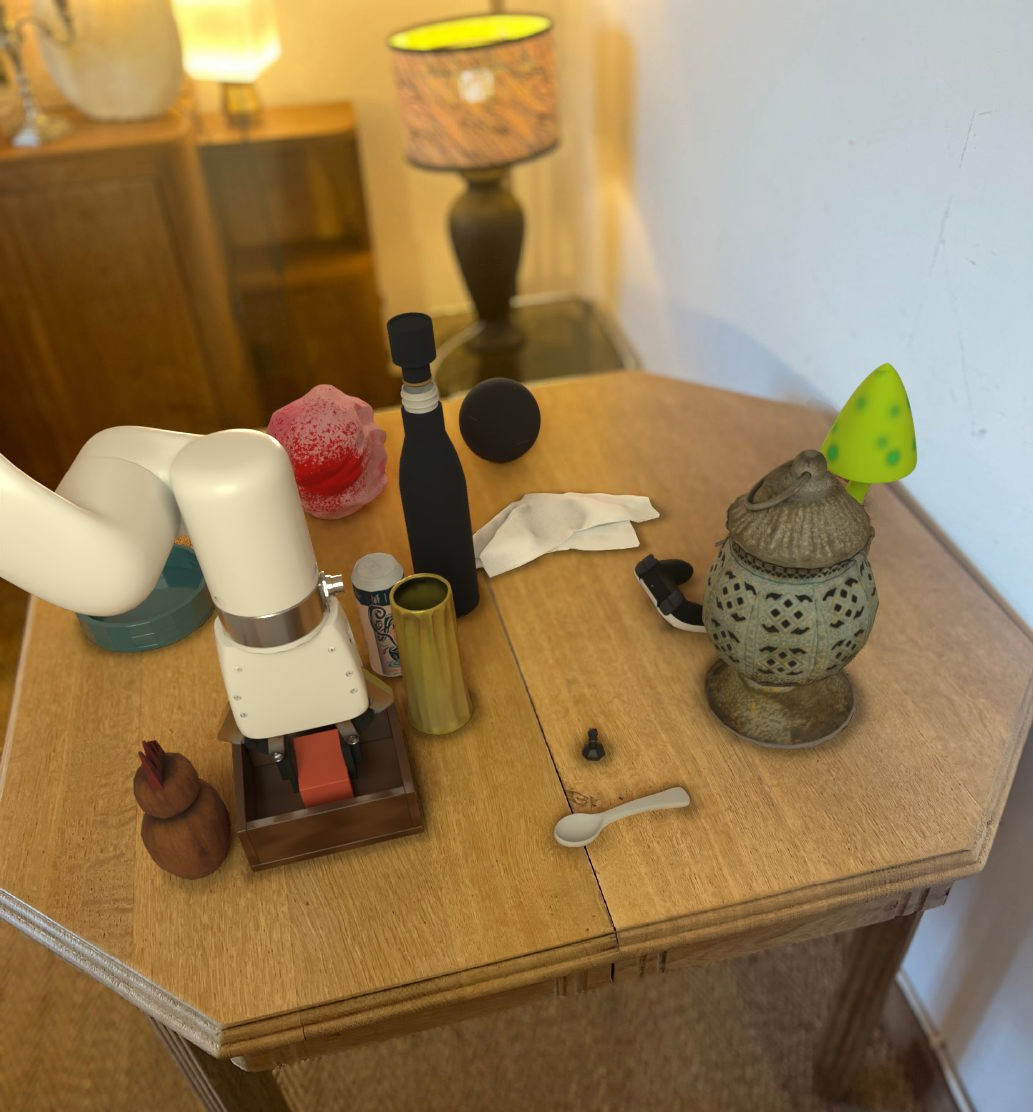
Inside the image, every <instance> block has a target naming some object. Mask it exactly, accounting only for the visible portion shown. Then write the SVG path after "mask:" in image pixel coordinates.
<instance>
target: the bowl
mask: <svg viewBox="0 0 1033 1112" xmlns="http://www.w3.org/2000/svg"><path fill="white" fill-rule="evenodd" d="M215 610H216V608H215V605H214V603H213V600H212V597H211V594H210V592H209V589H208V586H207V583H206V581H205V578H204V575H203V573H202V570H201V567H200V565H199V562H198V559H197V557H196V554H195V551H194V548H193V547H191V546H189V545H185V544H181V543H177V542H174V545H173V547H172V549H171V552H170V554H169V556H168V559H167V561H166V564H165V566H164V568H163V571H162V573H161V575H160V577H159V579H158V582H157V584H156V585H155V587H154V589H153V591H152V592H151V593H150V595H149V596H148V597H147V598H146V599H145V600H144V601H143V602H142V603H141V604H139V605H138V606H137V607H136V608H134V609H131V610H129V611H127V612H125V613H123V614H118V615H113V616H91V615H86V614H81V613H76V612H74V614H75V616H76V618H77V620H78V622H79V625H80V626H81V628H82V630H83V633H84V635H85V636H86V638H87V639H88V640H89V641H90V642H91V643H93V644H94V645H96V646H97V647H99V648H101V649H104V650H106V651H112V652H117V653H141V652H148V651H152V650H157V649H160V648H164V647H166V646H169V645H171V644H173V643H177V642H179V641H180V640H182V639H184V638H186V637H187V636H189V635H191V634H193V633H194V632H195V631H197V630H198V629H199V628H200V627H201V626H202V625H203V624H205V623H206V621H208V619H210V617H211V615H212V614H213V613H214V611H215Z"/></svg>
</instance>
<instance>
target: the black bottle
mask: <svg viewBox="0 0 1033 1112" xmlns="http://www.w3.org/2000/svg"><path fill="white" fill-rule="evenodd" d="M386 330H387V337H388V343H389V348H390V354H391V355H390V356H391V361H392V363H393V364H394V365H395V366H397V367H400V369H401V374H402V375H401V376H402V377H401V380H402V381H401V382H402V383H403V384H402V385H401V391H400V397H401V398H402V399H401V404H402V405H401V406H400V413H401V419H402V426H403V432H404V435H403V440H402V441H403V442H402V445H401V451H400V456H399V463H398V464H399V465H398V488H399V489H398V490H399V494H400V499H401V506H402V511H403V512H402V513H403V518H404V523H405V528H406V536H407V541H408V548H409V553H410V557H411V563H412V569H413V570H412V571H413V575H415V574H421V573H430V574H436V575H439V576H441V577H443V578H444V579H446V580H447V581H448V582H449V584H450V586H451V589H452V594H453V601H454V607H455V614H456V619H459V618H462V617H464V616H465V617H466V616H467V615H469V614H470V613H472V612H473V611H474V610H475V609H476V607H478V605H479V602H480V598H481V597H480V589H479V588H480V587H479V580H478V578H479V577H478V571H477V569H476V561H475V553H474V544H473V535H474V534H473V528H472V520H471V519H472V518H471V511H470V510H471V509H470V502H469V493H468V486H467V479H466V475H465V471H464V467H463V464H462V462H461V459H460V456H459V454H458V451H457V449H456V447H455V445H454V443H453V441H452V439H451V437H450V435H449V434H448V432H447V430H446V425H445V423H446V422H445V416H444V415H445V414H444V407H443V403H442V401H441V400H440V397H439V394H438V393H439V389H438V387H437V385H436V382H435V381H434V380H433V373H432V370H431V364H432V363H433V362H434V361H435V360H436V358H437V357H438V356H437V348H436V340H435V333H434V332H435V331H434V325H433V320H432V317H431V316H430V315H428V314H426V313H423V312H417V311H412V312H411V311H410V312H403V313H399V314H396V315H395V316H392V317H391V318H390V319H389V320H387V322H386Z"/></svg>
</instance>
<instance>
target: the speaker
mask: <svg viewBox="0 0 1033 1112" xmlns="http://www.w3.org/2000/svg"><path fill="white" fill-rule="evenodd" d="M541 423H542V415H541V410H540V407H539V404H538V402H537V400H536V398H535V396H534V395H533V393H532V392H531V391H530V390H529V389H528V388H527V387H526V386H525V385H524V384H522V383H521V382H519V381H517V380H515V379H513V378H507V377H492V378H488V379H485V380H483V381H481V382H478V383H477V384H476V385H474V386H473V387H472V388H471V389H470V390H469V391H468V392H467V393H466V395H465V396H464V399H463V400H462V403H461V405H460V408H459V413H458V428H459V432H460V435H461V438H462V440H463V442H464V443H465V445H466V446H467V447H468V449H469V450H470V451H471V453H473V454H474V455H475V456H477V457H479V458H480V459H482V460H484V461H487V462H490V463H497V464H498V463H499V464H503V463H510V462H512V461H515V460H518V459H520V458H521V457H524V455H526V454H527V453H528V452H529V451H530V450H531V449H532V447H534V445H535V443H536V442H537V439H538V437H539V434H540V431H541V426H542V425H541Z"/></svg>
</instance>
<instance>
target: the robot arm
mask: <svg viewBox="0 0 1033 1112" xmlns="http://www.w3.org/2000/svg"><path fill="white" fill-rule="evenodd" d="M182 537H187V538H189V541H190V542H191V546H192V548H193V549H194V551H195V554H196V557H197V559H198V562H199V565H200V567H201V570H202V573H203V575H204V578H205V581H206V583H207V586H208V589H209V592H210V594H211V597H212V600H213V603H214V605H215V612H216V613H217V616H216V617H215V620H214V621H213V622H214V623H213V630H214V640H215V645H216V646H215V647H216V651H217V658H218V663H219V667H220V671H221V676H222V680H223V683H224V687H225V691H226V695H227V699H228V701H227V702H226V705H225V707H224V710H223V711H222V714H221V716H220V718H219V720H218V723H217V725H216V737H217V739H218V741H220V742H223V743H229V744H232V743H234V744H239V745H241V744H245V746H246V747H247V748H250V749H253V750H255V751H258V752H261V753H264V754H267V755H269V759H270V760H271V761H273V762H276V764H277V766H278V769H279V772H280V775H281V777H282V780H283V781H284V780H288V779H290V782H291V785H292V787H293V790H294V793H298V792H300V791H299V782H298V769H297V760H296V752H295V748H294V745H293V742H292V739H291V737H288V735H287V734H289V733H294V732H298V731H303V730H307V729H312V728H316V727H321V726H325V725H329V724H334V723H335V725H336V727H337V728H338V734H339V740H340V746H341V751H342V755H343V758H344V762H345V765H346V766H347V769H348V772H349V776H350V779H351V778H352V780H354V779H358V774H357V768H356V764H358V763H363V757H362V752H361V748H360V744H359V741H360V735H361V733H362V732H363V731H364V730H365V729H366V728H367V727H368V726H369V724H370V723H371V722H372V721H373V720H374V718H375V715H376V714H380V713H381V712H382V711H383V710H385V709H386V708H387V707H389V706H390V705H391V704H392V703H393V702H394V700H395V696H394V692H393V689H392V687H391V686H390V685H388V684H387V683H385V682H384V681H383V680H381V678H378V677H377V676H375V674H373V673H371V672H370V671H369V670H367V669H366V668H365V667H364V665H363V662H362V659H361V655H360V652H359V649H358V644H357V643H356V639H355V636H354V633H353V630H352V628H351V624H350V621H349V620H348V617H347V615H346V613H345V611H344V608H343V606H342V605H341V602H340V601H339V599H338V597H337V596H336V595H341V594H345V593H346V589H345V585H344V581H343V577H342V574H337V575H331V574H327V575H326V574H325V571H320V566H319V563H318V562H317V558H316V554H315V551H314V547H313V543H312V539H311V535H310V531H309V527H308V523H307V519H306V515H305V511H303V507H302V504H301V500H300V496H299V492H298V488H297V484H296V481H295V477H294V473H293V469H292V466H291V463H290V460H289V457H288V454H287V452H286V451H285V449H284V448H283V446H282V445H281V444H280V443H279V442H278V441H277V440H276V439H274V438H273V437H272V436H270V435H268V434H266V432H263V431H259V430H256V429H249V428H232V429H231V428H230V429H225V430H218V431H215V432H211V433H209V434H199V433H198V434H197V433H188V432H182V431H174V430H167V429H162V428H155V427H148V426H139V425H117V426H113V427H109V428H105V429H103V430H101V431H99V432H97V433H95V434H94V435H92V437H91V438H89V439H88V440H87V441H86V442H85V443H84V445H83V446H82V447H81V449H80V450H79V452H78V454H76V457H75V458H74V461H73V462H72V464H71V465H70V467H69V469H68V470H67V472H66V473H65V474H64V476H63V477H62V479H61V481H60V482H59V484H58V485H57V487H56V489H55V491H53V490H51V489H50V488H48V487H46V486H45V485H43V484H41V483H40V482H38V481H37V480H35V479H34V478H32V477H31V476H29V475H28V474H27V473H25V472H24V471H22V470H21V469H20V468H18V467H17V466H16V465H14V463H12V462H11V461H10V460H9V459H8V458H7V457H6V456H4V454H2V453H1V452H0V578H2V579H4V580H5V581H7V582H8V583H10V584H12V585H14V586H16V587H18V588H19V589H21V590H23V591H25V592H27V593H29V594H31V595H33V596H34V597H36V598H39V599H41V600H43V601H46V602H47V603H49V604H51V605H54V606H57V607H59V608H60V609H65V610H67V611H71V612H74V613H75V612H76V613H81V614H86V615H91V616H113V615H118V614H123V613H125V612H127V611H129V610H131V609H134V608H136V607H137V606H138V605H139V604H141V603H142V602H143V601H144V600H145V599H146V598H147V597H148V596H149V595H150V593H151V592H152V591H153V589H154V587H155V585H156V584H157V582H158V579H159V577H160V575H161V573H162V571H163V568H164V566H165V564H166V561H167V559H168V556H169V554H170V552H171V549H172V547H173V545H174V543H176V541H178V540H179V539H180V538H182ZM393 696H394V697H393Z"/></svg>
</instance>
